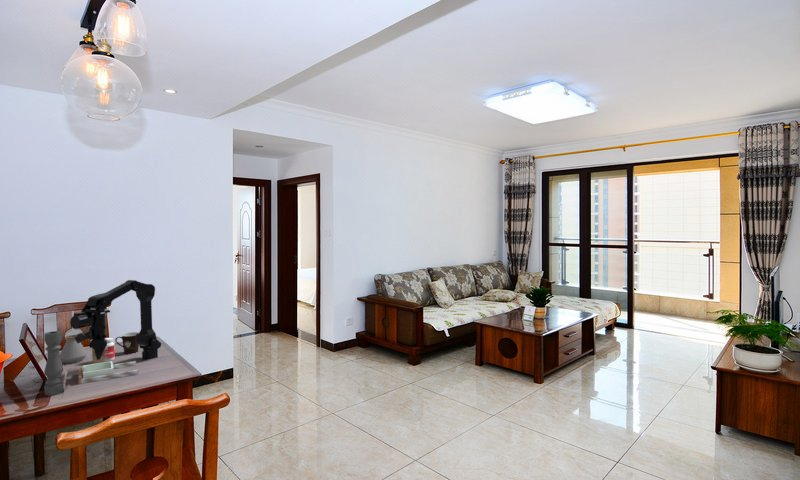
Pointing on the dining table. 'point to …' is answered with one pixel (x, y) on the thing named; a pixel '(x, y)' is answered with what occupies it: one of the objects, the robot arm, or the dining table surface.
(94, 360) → the walnut block
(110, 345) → the pill bottle
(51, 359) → the candle holder
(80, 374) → the bay board
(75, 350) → the coffee pot
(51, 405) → the dining table surface
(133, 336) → the coffee mug
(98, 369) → the crate
